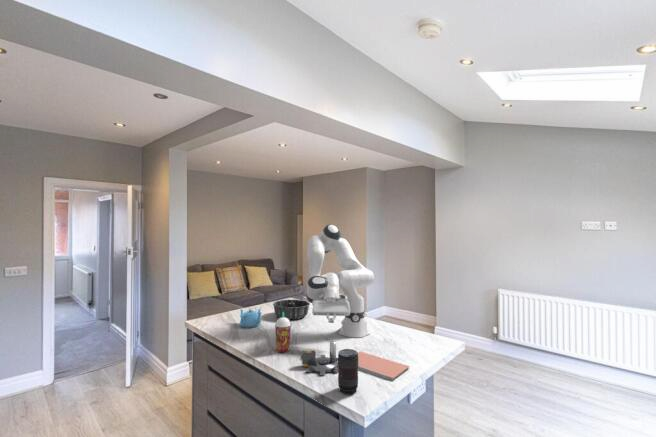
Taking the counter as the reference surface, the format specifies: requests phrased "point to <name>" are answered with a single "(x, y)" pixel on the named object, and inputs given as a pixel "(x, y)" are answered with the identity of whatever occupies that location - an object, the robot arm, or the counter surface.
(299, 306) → the bundt pan
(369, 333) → the robot arm
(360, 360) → the notebook
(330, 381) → the counter surface
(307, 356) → the grey and orange block
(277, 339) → the smoothie
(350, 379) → the camera lens
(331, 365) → the sprocket
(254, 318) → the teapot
